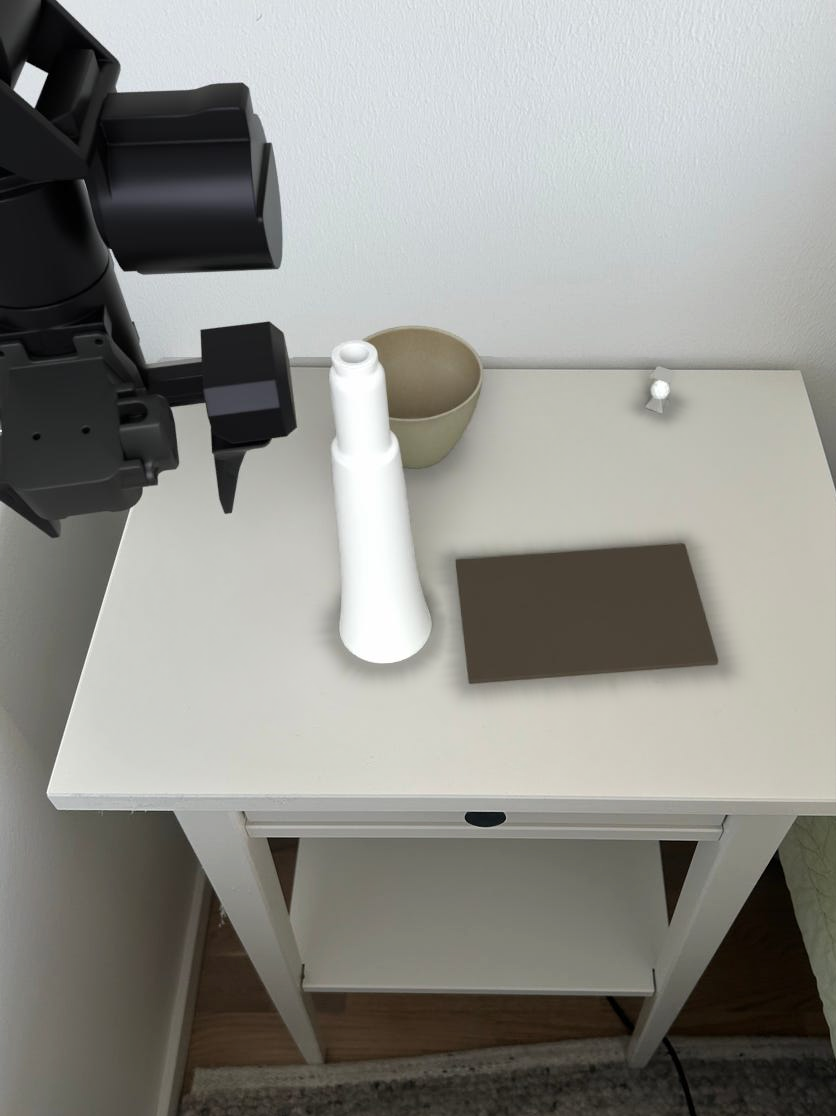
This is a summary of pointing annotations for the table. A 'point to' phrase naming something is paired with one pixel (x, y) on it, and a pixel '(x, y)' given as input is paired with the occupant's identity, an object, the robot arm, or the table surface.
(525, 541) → the table surface
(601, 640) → the mat
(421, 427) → the bowl
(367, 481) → the cosmetic bottle
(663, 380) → the wrapped candy
